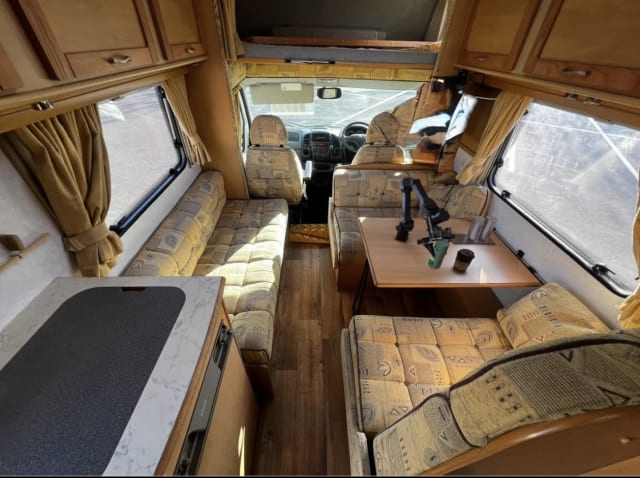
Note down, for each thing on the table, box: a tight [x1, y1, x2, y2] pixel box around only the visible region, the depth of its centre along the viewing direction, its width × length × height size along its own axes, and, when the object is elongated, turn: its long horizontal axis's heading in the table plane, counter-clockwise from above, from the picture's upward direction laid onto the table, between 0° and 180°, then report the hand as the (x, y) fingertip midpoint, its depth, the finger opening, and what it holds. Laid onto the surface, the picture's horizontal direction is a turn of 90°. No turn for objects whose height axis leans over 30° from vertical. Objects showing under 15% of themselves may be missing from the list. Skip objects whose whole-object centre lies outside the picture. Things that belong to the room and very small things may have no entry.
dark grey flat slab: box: [451, 233, 496, 246], centre depth 166 cm, size 25×10×1 cm, turn 89°
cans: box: [466, 215, 498, 241], centre depth 161 cm, size 14×6×15 cm, turn 89°
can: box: [427, 239, 451, 270], centre depth 132 cm, size 6×6×15 cm
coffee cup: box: [452, 248, 476, 275], centre depth 138 cm, size 9×8×13 cm
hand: (439, 255), depth 131 cm, fingers closed on can, 6 cm apart
